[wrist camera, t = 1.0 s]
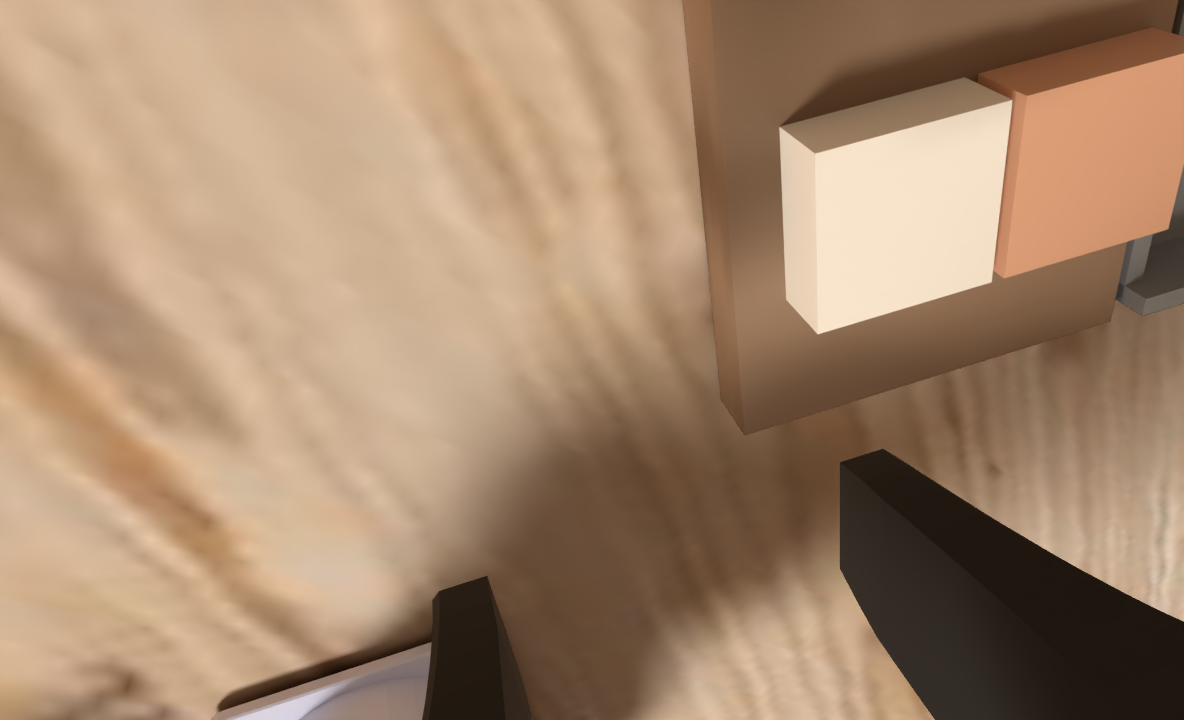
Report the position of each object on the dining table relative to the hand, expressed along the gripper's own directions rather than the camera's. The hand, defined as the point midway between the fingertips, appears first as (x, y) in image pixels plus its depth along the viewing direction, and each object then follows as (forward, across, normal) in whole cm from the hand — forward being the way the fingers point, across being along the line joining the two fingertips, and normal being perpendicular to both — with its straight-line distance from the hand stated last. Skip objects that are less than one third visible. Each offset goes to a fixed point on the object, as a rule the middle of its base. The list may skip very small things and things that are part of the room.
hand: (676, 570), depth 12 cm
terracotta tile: (+8, -12, 0) cm, 14 cm away
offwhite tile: (+8, -7, 0) cm, 11 cm away
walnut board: (+9, -9, 0) cm, 13 cm away
